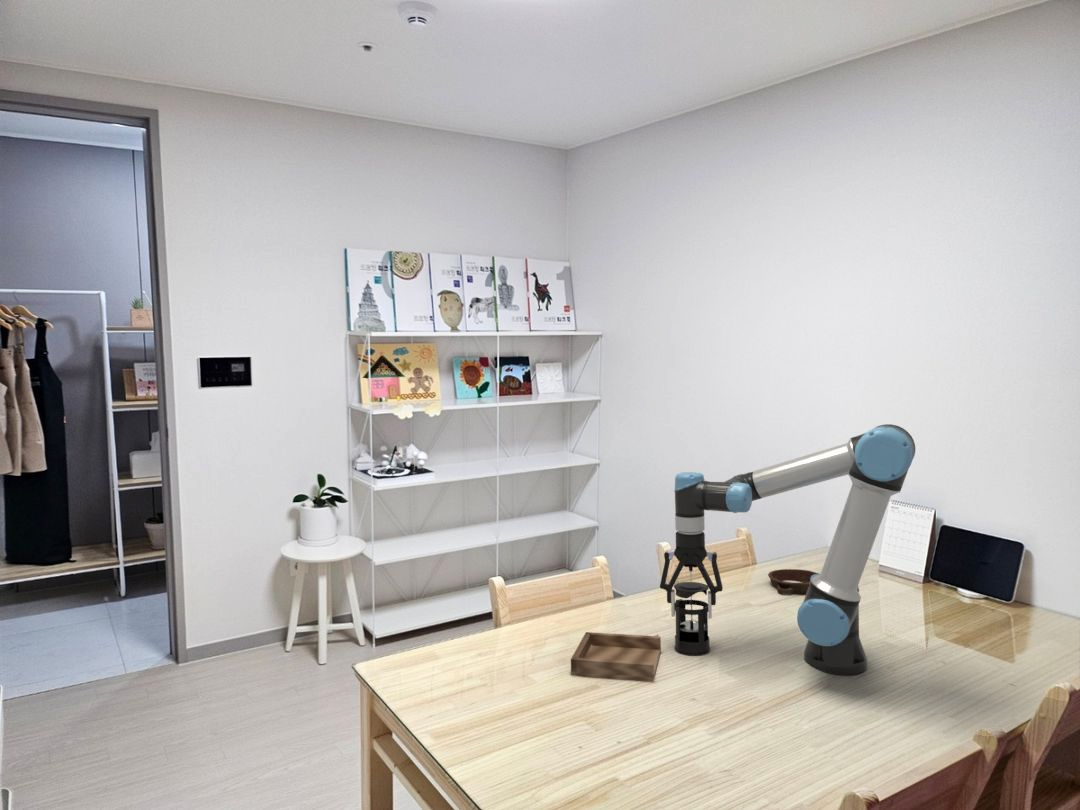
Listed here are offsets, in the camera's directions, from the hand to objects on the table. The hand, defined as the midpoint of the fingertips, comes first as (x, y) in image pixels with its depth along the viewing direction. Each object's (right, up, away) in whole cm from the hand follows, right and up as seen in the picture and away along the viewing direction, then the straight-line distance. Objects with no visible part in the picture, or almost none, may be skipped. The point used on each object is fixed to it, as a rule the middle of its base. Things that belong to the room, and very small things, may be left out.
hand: (691, 615), depth 199 cm
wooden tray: (-20, -10, -8) cm, 24 cm away
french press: (0, -9, +1) cm, 9 cm away
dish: (+45, -6, +53) cm, 70 cm away
